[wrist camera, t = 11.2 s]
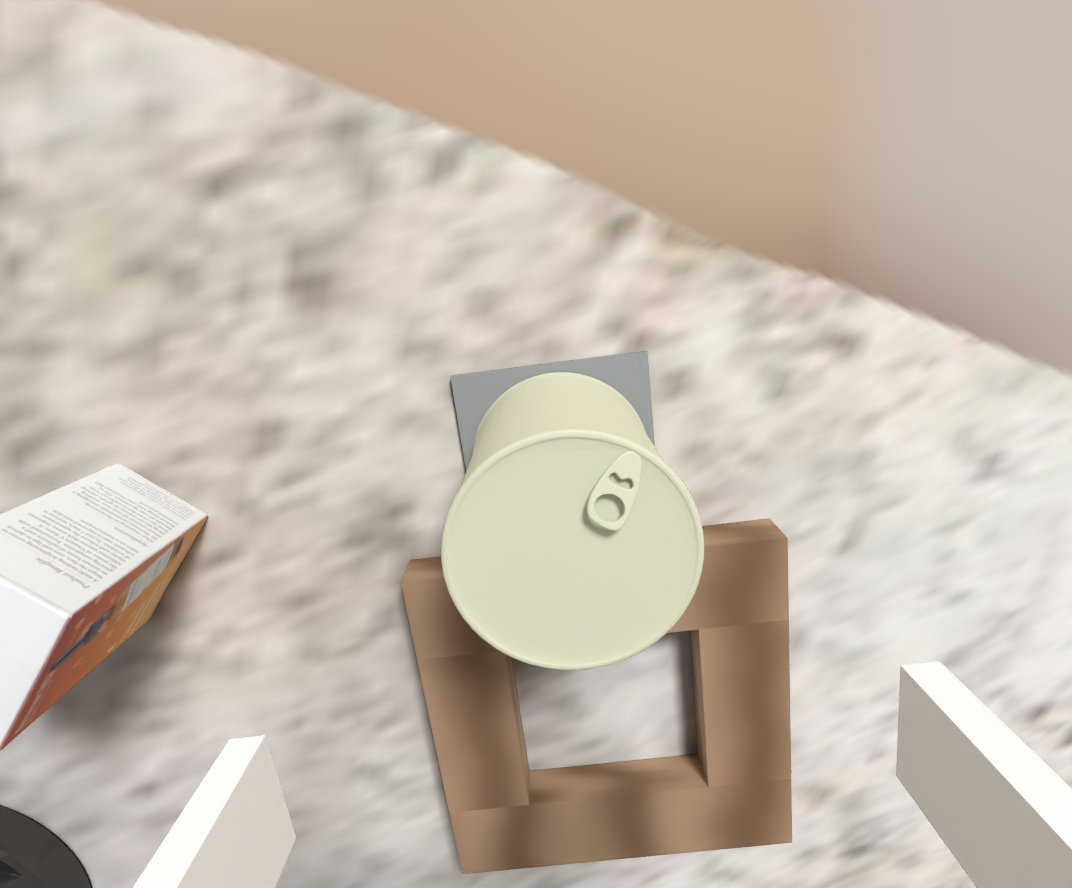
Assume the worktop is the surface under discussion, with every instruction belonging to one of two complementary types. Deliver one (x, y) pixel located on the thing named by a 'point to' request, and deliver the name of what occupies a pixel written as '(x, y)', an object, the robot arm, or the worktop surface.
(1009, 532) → the worktop surface
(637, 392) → the mat
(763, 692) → the housing
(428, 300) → the worktop surface
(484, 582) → the can
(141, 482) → the small box
